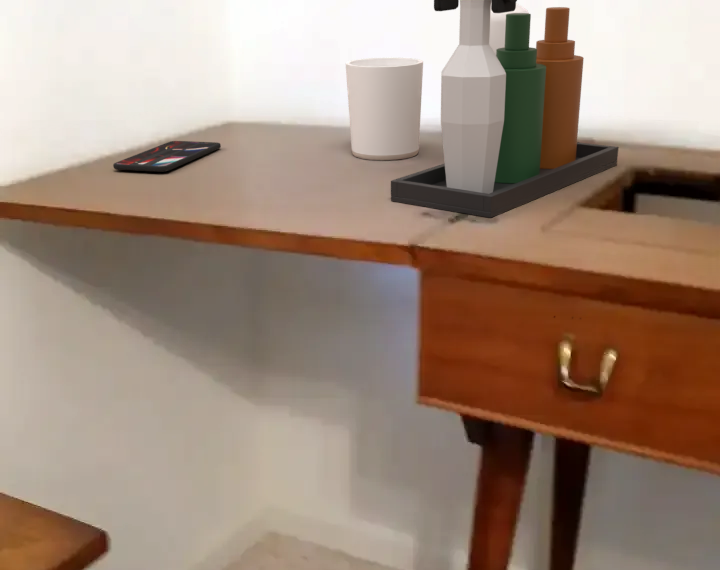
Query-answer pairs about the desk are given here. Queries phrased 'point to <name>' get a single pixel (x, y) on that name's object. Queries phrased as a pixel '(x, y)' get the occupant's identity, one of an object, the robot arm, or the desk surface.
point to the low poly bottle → (472, 103)
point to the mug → (384, 107)
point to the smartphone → (167, 156)
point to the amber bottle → (559, 90)
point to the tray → (500, 185)
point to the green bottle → (520, 104)
